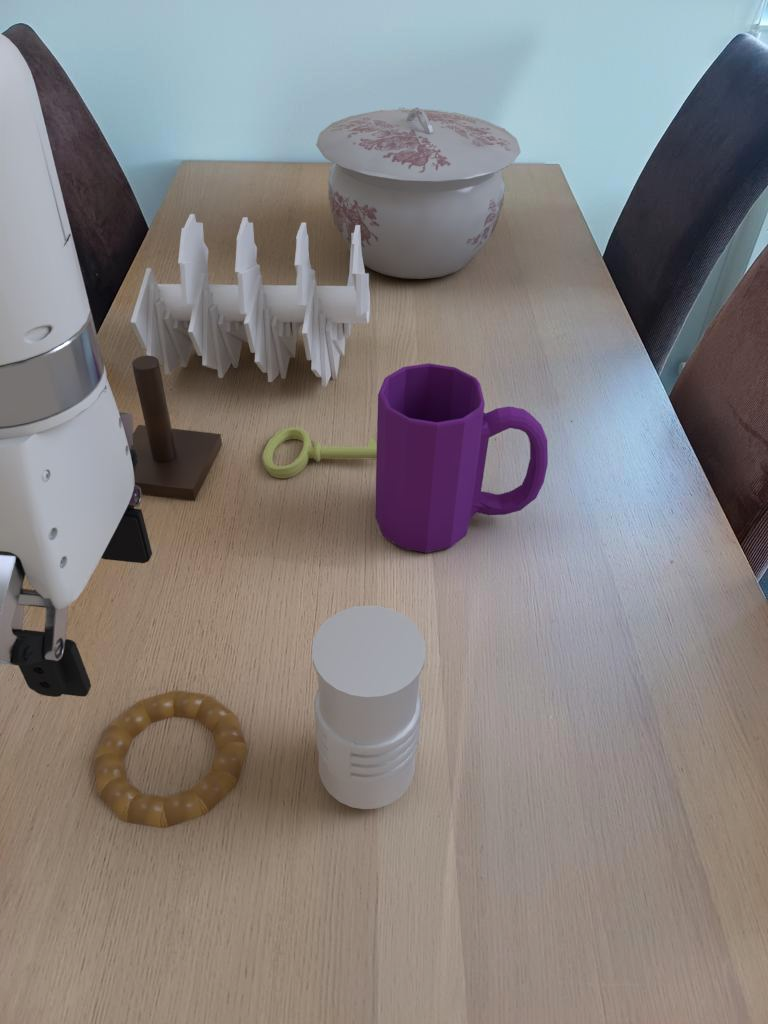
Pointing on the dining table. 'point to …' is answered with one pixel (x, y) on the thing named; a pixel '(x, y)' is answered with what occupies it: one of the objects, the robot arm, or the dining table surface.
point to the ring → (185, 803)
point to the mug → (443, 456)
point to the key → (310, 452)
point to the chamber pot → (417, 187)
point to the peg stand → (167, 442)
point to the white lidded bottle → (367, 704)
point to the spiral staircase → (249, 310)
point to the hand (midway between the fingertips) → (96, 618)
